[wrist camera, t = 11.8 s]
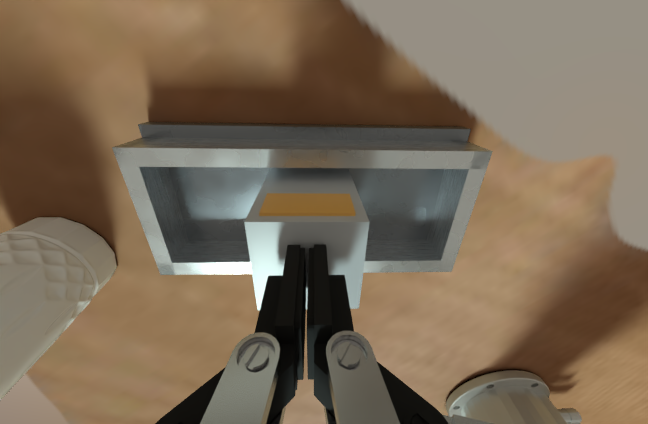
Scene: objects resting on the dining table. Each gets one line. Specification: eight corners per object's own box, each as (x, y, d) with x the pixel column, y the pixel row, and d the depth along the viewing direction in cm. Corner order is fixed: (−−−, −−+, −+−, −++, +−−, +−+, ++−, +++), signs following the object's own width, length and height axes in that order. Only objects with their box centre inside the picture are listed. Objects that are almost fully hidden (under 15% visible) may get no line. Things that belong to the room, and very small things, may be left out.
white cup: (-7, 246, 19) (-281, 388, 10) (44, 187, 17) (-243, 302, 8) (93, 301, 22) (-53, 447, 13) (145, 258, 20) (15, 395, 11)
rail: (462, 126, 16) (497, 137, 13) (428, 250, 21) (448, 279, 18) (148, 121, 15) (106, 132, 12) (186, 251, 20) (163, 283, 17)
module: (348, 165, 16) (369, 218, 10) (343, 232, 18) (358, 308, 12) (271, 165, 16) (243, 218, 10) (276, 232, 18) (257, 310, 12)
